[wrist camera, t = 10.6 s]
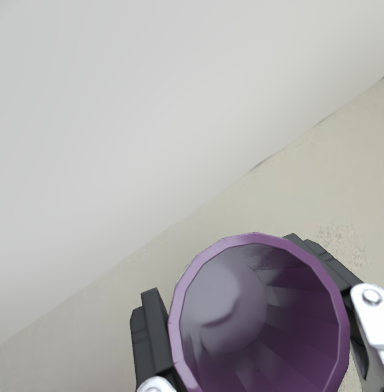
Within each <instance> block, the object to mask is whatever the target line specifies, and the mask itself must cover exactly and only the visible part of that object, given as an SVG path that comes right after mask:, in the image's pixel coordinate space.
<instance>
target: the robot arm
mask: <svg viewBox="0 0 384 392" xmlns="http://www.w3.org/2000/svg"><path fill="white" fill-rule="evenodd" d="M282 238H284V239H288V240H290V241H291V242H293V243H294V244H296V245H297V246H299V247H300V248H302V249H303V250H305V251H306V252H308V253H309V254H311V255H312V256H314V257H315V258H316V259H317V260H318V261H319V262H320V263H321V265H322V266H323V267H324V269H325V270H326V272H327V273H328V274H329V276H330V277H331V278H332V280H333V281H334V282H335V284H336V285H337V287H338V288H339V290H340V293H341V296H342V299H343V303H344V306H345V309H346V313H347V316H348V319H349V322H350V327H351V330H350V351H351V354H352V357H353V360H354V363H355V366H356V370H357V373H358V376H359V379H360V382H361V386H362V392H384V289H383V288H381V287H379V286H377V285H374V284H370V283H364V282H362V281H361V280H360V279H359V278H358V277H356V276H355V275H354V274H353V273H352V272H351V271H349V270H348V269H347V268H346V267H345V266H344V265H343V264H341V263H340V262H339V261H338V260H337V259H335V258H334V257H333V256H332V255H331V254H330V253H328V252H327V251H326V250H325V249H324V248H323V247H322V246H320V245H319V244H318V243H315V242H313V241H311V240H308V239H307V240H304V241H302V240H301V239H300V238H299V237H298V236H297V235H296V234H294V233H292V234H289V235H287V236H284V237H282ZM141 299H142V305H143V306H141V307H139V308H136V309H134V310H133V312H132V315H131V319H130V329H131V338H132V344H133V345H132V347H133V355H134V364H135V373H136V391H135V392H188V391H187V389H186V388H185V386H184V384H183V382H182V380H181V379H180V377H179V375H178V373H177V371H176V369H175V368H174V366H173V363H172V356H171V349H170V341H169V334H168V327H167V321H168V314H167V311H166V308H165V306H164V303H163V301H162V299H161V296H160V294H159V292H158V289H157V287H156V288H153V289H151V290H148V291H146V292H143V293H141Z"/></svg>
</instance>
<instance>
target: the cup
mask: <svg viewBox="0 0 384 392" xmlns="http://www.w3.org/2000/svg"><path fill="white" fill-rule="evenodd" d="M167 327H168V334H169V341H170V349H171V356H172V363H173V366H174V368H175V369H176V371H177V373H178V375H179V377H180V379H181V380H182V382H183V384H184V386H185V388H186V389H187V391H188V392H337V391H338V389H339V387H340V384H341V382H342V380H343V378H344V375H345V373H346V371H347V369H348V365H349V352H350V330H351V327H350V322H349V319H348V316H347V313H346V309H345V306H344V303H343V299H342V296H341V293H340V290H339V288H338V287H337V285H336V284H335V282H334V281H333V280H332V278H331V277H330V276H329V274H328V273H327V272H326V270H325V269H324V267H323V266H322V265H321V263H320V262H319V261H318V260H317V259H316V258H315V257H314V256H312V255H311V254H309V253H308V252H306V251H305V250H303V249H302V248H300V247H299V246H297V245H296V244H294V243H293V242H291V241H290V240H288V239H284V238H280V237H276V236H271V235H267V234H263V233H258V232H253V233H247V234H241V235H236V236H230V237H225V238H222V239H221V240H219V241H218V242H216V243H215V244H213V245H212V246H210V247H208V248H207V249H205V250H204V251H202V252H201V253H199V254H198V255H196V256H195V257H194V258H193V259H192V260H191V261H190V262H189V263H188V264H187V266H186V267H185V269H184V270H183V272H182V273H181V275H180V276H179V277H178V279H177V281H176V284H175V288H174V293H173V297H172V301H171V306H170V311H169V316H168V321H167Z"/></svg>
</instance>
